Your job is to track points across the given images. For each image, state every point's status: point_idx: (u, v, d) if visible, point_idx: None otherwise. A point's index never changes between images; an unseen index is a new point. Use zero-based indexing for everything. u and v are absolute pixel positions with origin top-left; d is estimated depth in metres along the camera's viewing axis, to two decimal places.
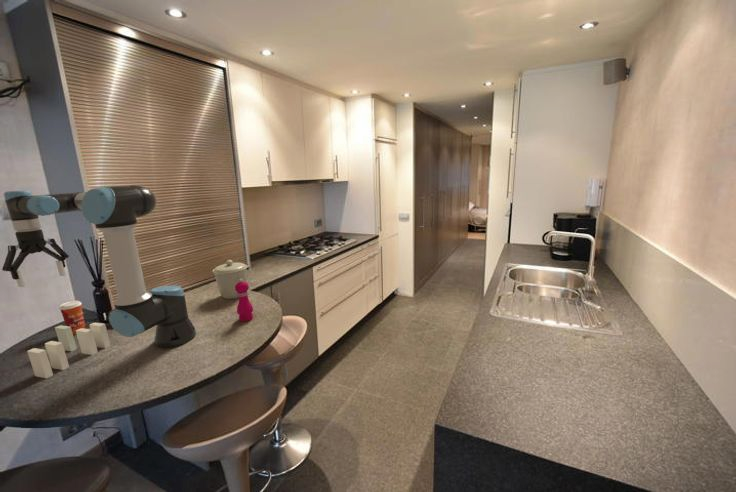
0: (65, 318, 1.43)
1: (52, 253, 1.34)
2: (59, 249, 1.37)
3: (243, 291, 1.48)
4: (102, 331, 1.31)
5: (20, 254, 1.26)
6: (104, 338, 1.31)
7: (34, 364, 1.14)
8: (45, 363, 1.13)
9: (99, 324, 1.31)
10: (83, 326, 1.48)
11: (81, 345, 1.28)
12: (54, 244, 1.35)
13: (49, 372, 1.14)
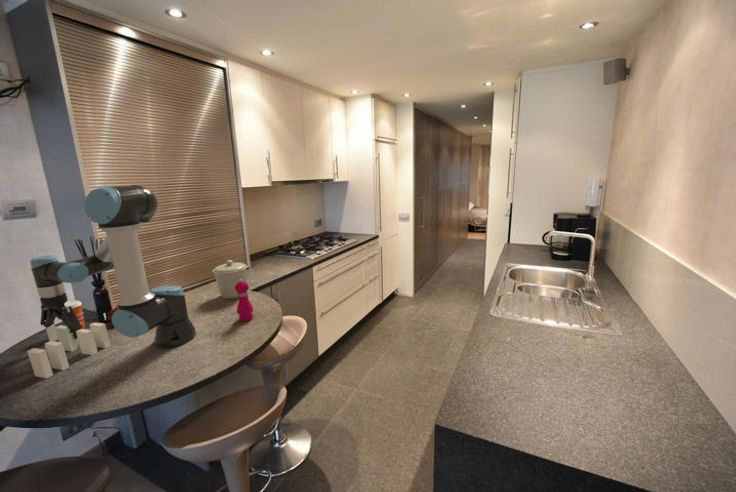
0: None
1: (64, 322, 1.27)
2: (68, 320, 1.26)
3: (243, 291, 1.48)
4: (102, 331, 1.31)
5: None
6: (104, 338, 1.31)
7: (34, 364, 1.14)
8: (45, 363, 1.13)
9: (99, 324, 1.31)
10: (83, 326, 1.48)
11: (81, 346, 1.28)
12: (64, 314, 1.26)
13: (49, 372, 1.14)
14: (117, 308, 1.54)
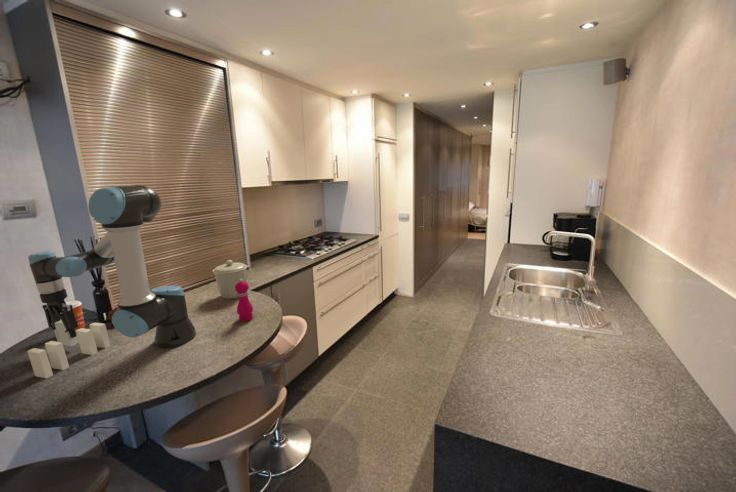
0: None
1: (62, 320, 1.27)
2: (66, 319, 1.26)
3: (243, 291, 1.48)
4: (102, 331, 1.31)
5: None
6: (104, 338, 1.31)
7: (34, 364, 1.14)
8: (45, 363, 1.13)
9: (99, 324, 1.31)
10: (83, 326, 1.48)
11: (81, 345, 1.28)
12: (64, 312, 1.26)
13: (49, 372, 1.14)
14: (117, 308, 1.54)
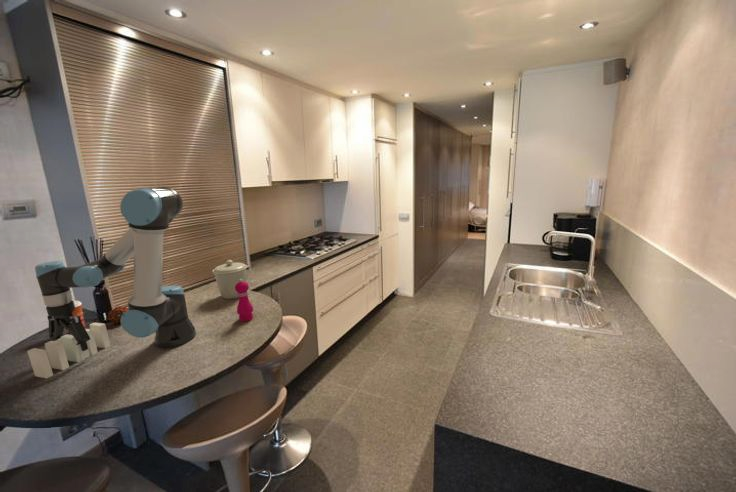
0: None
1: (71, 332, 1.19)
2: (76, 331, 1.18)
3: (243, 291, 1.48)
4: (102, 331, 1.31)
5: None
6: (104, 338, 1.31)
7: (34, 364, 1.14)
8: (45, 363, 1.13)
9: (99, 324, 1.31)
10: None
11: None
12: (72, 325, 1.18)
13: (49, 372, 1.14)
14: (117, 308, 1.54)
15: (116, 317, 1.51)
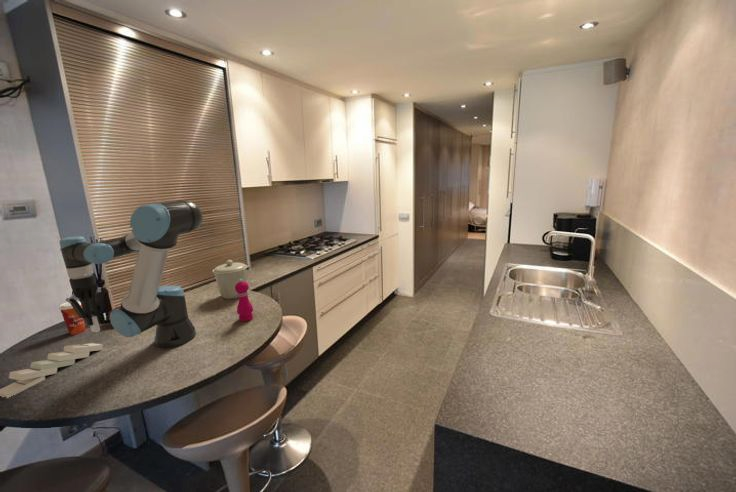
0: (65, 318, 1.43)
1: (94, 303, 1.29)
2: (101, 300, 1.32)
3: (243, 291, 1.48)
4: (82, 351, 1.24)
5: (82, 302, 1.26)
6: (90, 350, 1.27)
7: None
8: (25, 388, 1.08)
9: (71, 349, 1.22)
10: (83, 326, 1.48)
11: None
12: (101, 293, 1.32)
13: (39, 380, 1.11)
14: (117, 308, 1.54)
15: None
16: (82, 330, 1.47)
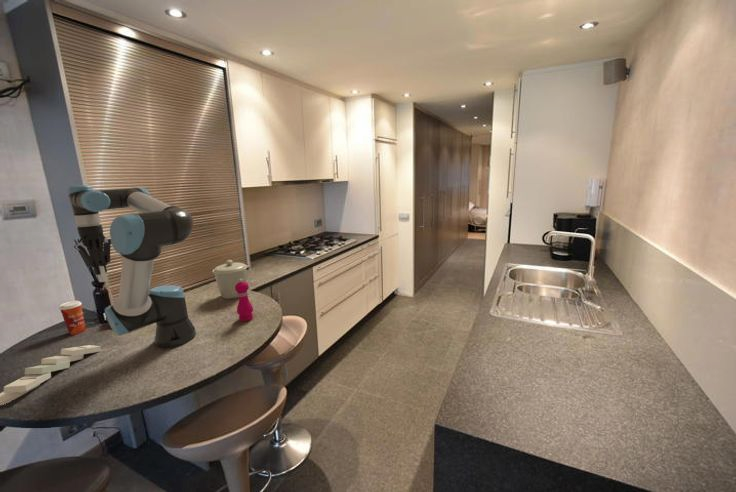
0: (65, 318, 1.43)
1: (102, 253, 1.32)
2: (108, 251, 1.34)
3: (243, 291, 1.48)
4: (79, 353, 1.23)
5: (89, 251, 1.29)
6: (88, 352, 1.26)
7: None
8: (21, 394, 1.05)
9: (68, 352, 1.21)
10: (83, 326, 1.48)
11: None
12: (108, 244, 1.34)
13: None
14: None
15: None
16: (82, 330, 1.47)
